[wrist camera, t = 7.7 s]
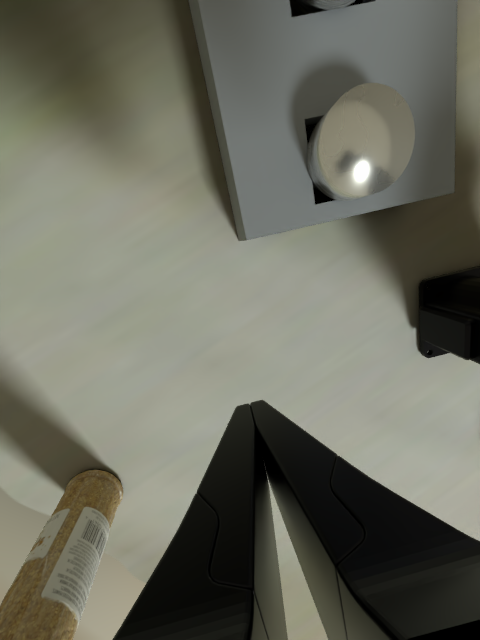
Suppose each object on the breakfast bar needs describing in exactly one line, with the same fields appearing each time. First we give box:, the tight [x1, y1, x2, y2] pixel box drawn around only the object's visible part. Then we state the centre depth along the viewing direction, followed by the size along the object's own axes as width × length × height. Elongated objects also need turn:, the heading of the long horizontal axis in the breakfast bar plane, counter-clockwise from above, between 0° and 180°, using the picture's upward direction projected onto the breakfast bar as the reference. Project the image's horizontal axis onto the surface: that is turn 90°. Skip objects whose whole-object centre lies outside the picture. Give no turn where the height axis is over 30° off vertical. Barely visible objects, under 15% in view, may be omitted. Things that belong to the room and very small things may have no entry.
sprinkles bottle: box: [0, 470, 123, 640], centre depth 16 cm, size 5×5×14 cm
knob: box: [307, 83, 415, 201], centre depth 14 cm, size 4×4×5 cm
